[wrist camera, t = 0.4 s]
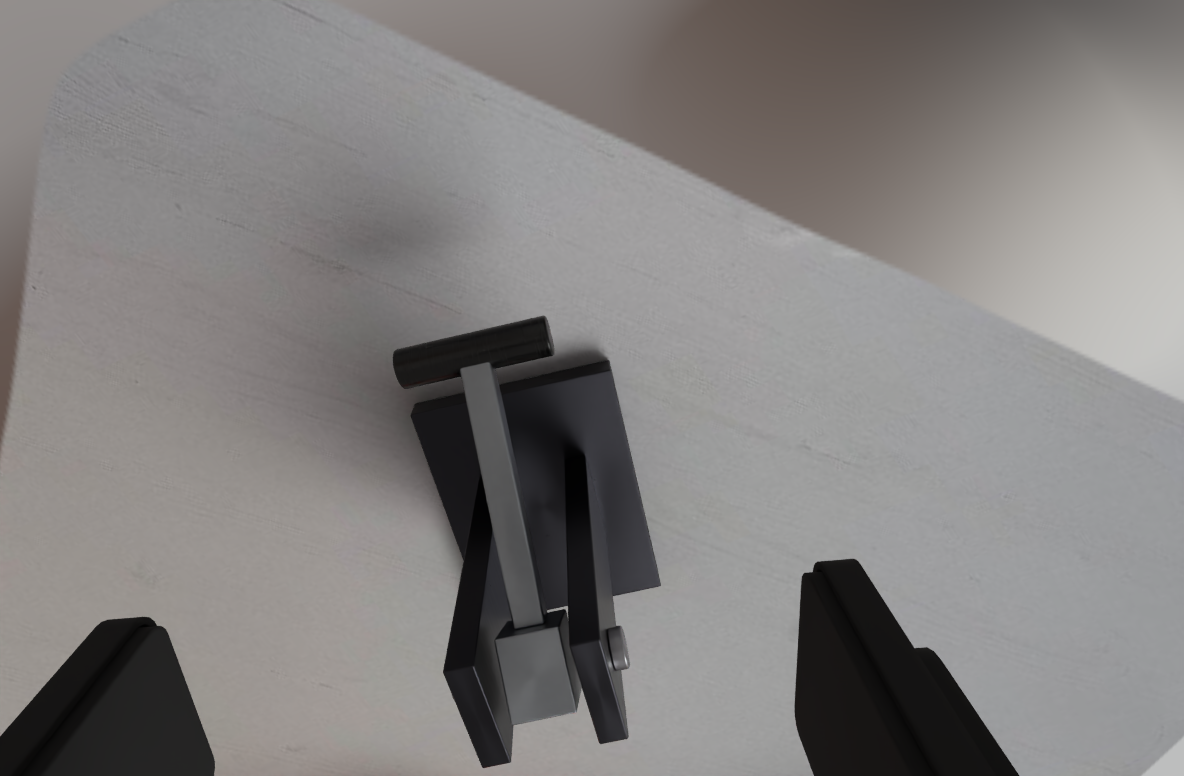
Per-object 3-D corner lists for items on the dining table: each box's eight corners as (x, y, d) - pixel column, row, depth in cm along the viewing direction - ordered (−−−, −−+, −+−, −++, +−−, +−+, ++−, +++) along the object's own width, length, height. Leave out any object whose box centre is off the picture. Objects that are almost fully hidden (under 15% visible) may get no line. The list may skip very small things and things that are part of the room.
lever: (406, 353, 27) (384, 345, 24) (550, 320, 26) (541, 309, 24) (478, 708, 26) (462, 736, 23) (627, 677, 25) (627, 702, 23)
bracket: (414, 403, 32) (335, 589, 21) (609, 359, 32) (640, 523, 20) (488, 607, 37) (457, 852, 25) (657, 571, 37) (706, 803, 25)
